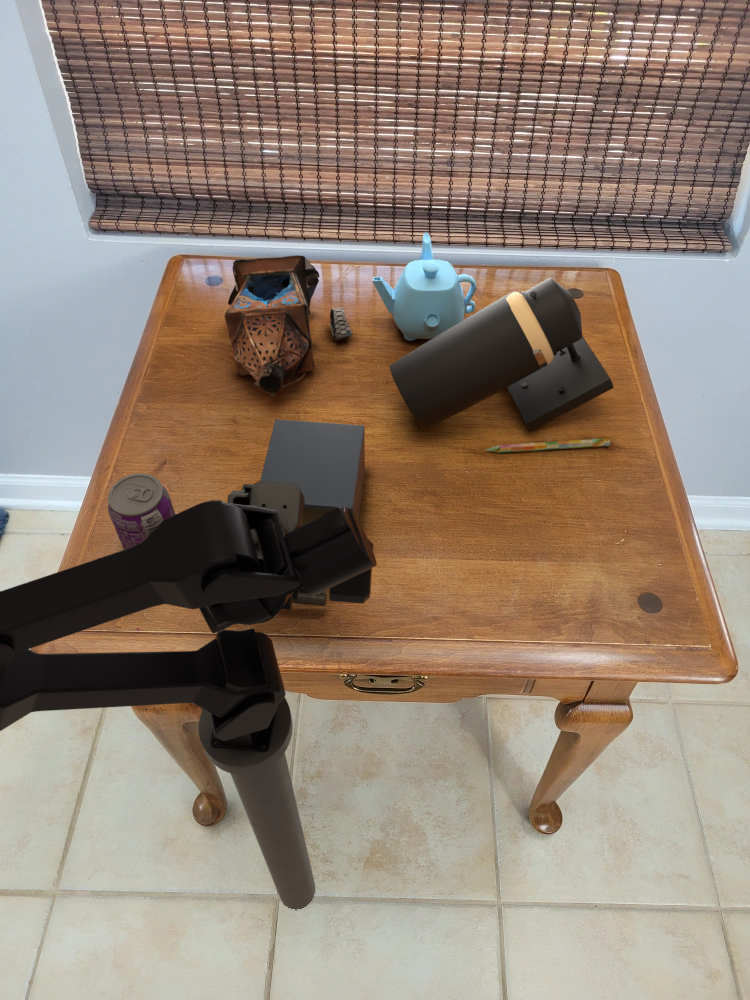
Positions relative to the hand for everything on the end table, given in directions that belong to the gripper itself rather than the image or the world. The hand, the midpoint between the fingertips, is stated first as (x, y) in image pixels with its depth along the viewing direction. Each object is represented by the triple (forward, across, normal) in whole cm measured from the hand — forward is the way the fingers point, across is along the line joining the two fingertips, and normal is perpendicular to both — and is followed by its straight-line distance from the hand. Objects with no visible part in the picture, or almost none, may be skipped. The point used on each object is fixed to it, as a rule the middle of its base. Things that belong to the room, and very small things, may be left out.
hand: (291, 550), depth 85 cm
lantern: (+38, +10, -23) cm, 46 cm away
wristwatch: (+43, 0, -28) cm, 51 cm away
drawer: (+11, 0, +2) cm, 12 cm away
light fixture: (+33, -24, -18) cm, 44 cm away
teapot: (+46, -13, -31) cm, 57 cm away
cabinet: (+18, 0, -3) cm, 18 cm away
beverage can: (+12, +19, +4) cm, 22 cm away
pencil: (+27, -32, -12) cm, 43 cm away
